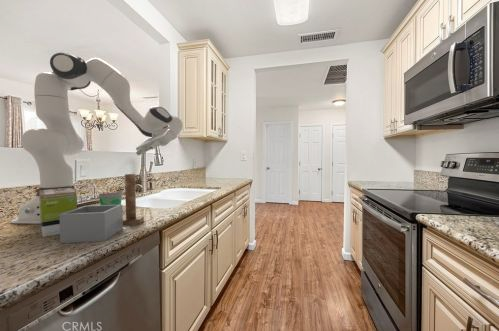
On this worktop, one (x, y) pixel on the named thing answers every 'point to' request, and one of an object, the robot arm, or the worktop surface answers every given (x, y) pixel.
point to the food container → (111, 198)
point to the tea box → (55, 208)
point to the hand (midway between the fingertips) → (144, 150)
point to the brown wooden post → (131, 202)
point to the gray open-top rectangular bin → (90, 223)
